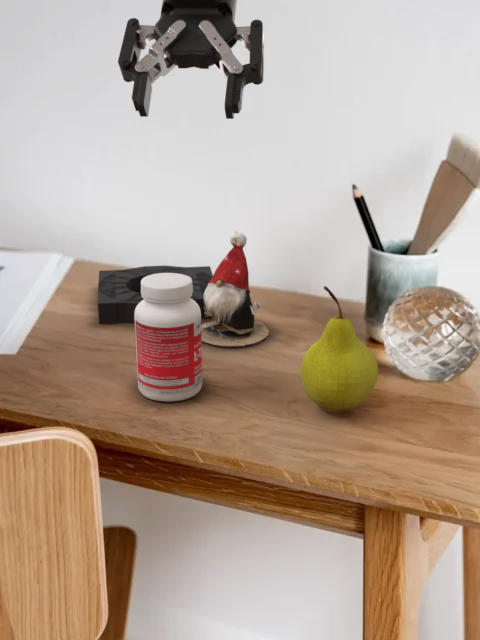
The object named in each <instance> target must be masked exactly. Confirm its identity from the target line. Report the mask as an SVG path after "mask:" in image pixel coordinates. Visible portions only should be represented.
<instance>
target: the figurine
mask: <svg viewBox="0 0 480 640" xmlns="http://www.w3.org/2000/svg"><path fill="white" fill-rule="evenodd" d="M247 239H248V238H247V236H246V235H245V234H244V233H242V232H240V231H237V230H235V231H234V232H232V234H231V235H230V244H231V245H232V246H233V247H232V248H231V249H230V250H229V251H228V253H227V254H226V255H225V257H224V258H223V259H222V260H221V262H220V263H219V264H218V266H217V267H216V269H215V271H214V273H213V277H212V279H211V281H209V282H208V286H207V288H206V290H205V292H204V297H203V299H204V315H205V318H206V317H208V316H211V317H212V318H211V319H209V320H208V322H203V323H201V335H202V342H204V343H207V344H209V345H213V346H219V347H222V348H225V347H226V348H235V347H236V348H242V347H246V346H248V347H249V346H250V345H251V346H254V345H257V344H259V343H260V342H263V340H264V339H267V338H268V337H269V335H270V333H269V329H268V327H267V326H266V325H264V323H263V322H261V321H255V314H256V313H257V312H258V310H259V309H261V308H262V306H261V304H260V302H259V300H258V299H256V300H254V302H252V299H251V295H250V293H251V290H250V282H249V280H250V279H249V268H248V262H247V257H246V254H245V251H244V248H245V246H246V244H247ZM212 319H213V320H212ZM222 326H224V327H226V329H227V330H224V331H223V330H220V329H218V328H216V327H222ZM214 327H215V328H214Z"/></svg>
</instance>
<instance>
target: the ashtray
mask: <svg viewBox="0 0 480 640" xmlns="http://www.w3.org/2000/svg"><path fill="white" fill-rule="evenodd" d="M211 268H212V267H211V266H210V265H207V266H176V265H174V266H173V265H144V266H138V267H133V268H132V267H131V268H126V269H109V270H107V269H106V270H99V271H98V283H97V292H98V293H97V314H98V324H99V325H103V324H105V325H106V324H107V325H108V324H123V323H125V324H126V323H127V324H134V313H135V308H136V306H137V305H138V304H139V303H140V302H141V301H142V300H144V298H143V297H142V294H141V280H142V279H143V278H144V277H146V276H148V275H152V274H157V273H178V274H183V275H186V276H189V277H190V278H191V279H192V285H193V293H192V296H191V297H190V298H191V299H193V300H194V301H195V302H196V303H197V304H198V305H199V307H200V311H201V320H208V319H209V320H212V319H213V318H212V317H211V316H208V317H206V318H205V315H204V299H203V297H204V292H205V290H206V288H207V286H208V282H209V281H211V279H212V277H213V275H214V273H213V271H212V269H211Z"/></svg>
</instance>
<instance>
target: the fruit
mask: <svg viewBox="0 0 480 640" xmlns="http://www.w3.org/2000/svg"><path fill="white" fill-rule="evenodd" d="M323 289H324V290H325V291H326V292H327V293H328V295H329V296H330V298H331V299H332V300H333V301H334V302H335V303H336V304H337V308H338V315H335V316H333V317H331V318H330V319H329V321H328V322H327V323H326V326H325V328H324V331H323V333H322V334H321V337H320V338H319V339H318V340H317V341H316V342H315V343H313V344H312V345H311V346H310V347H309V348H308V349H307V350H306V352H305V354H304V355H303V358H302V360H301V365H300V380H301V383H302V384H301V385H302V387H303V389H304V391H305V393H306V395H307V396H308V398H309V399H310V400H311V401H312V402H313V403H314V404H315V405H316V406H318V407H319V408H321V409H322V410H324V411H325V412H327V413H329V414H345V413H348V412H349V411H352V410H354V409H355V408H358V407H359V406H360V405H362V404H363V403H364V402H365V401H366V400H367V399H368V397H369V396H370V395H371V393H372V392H373V390H374V389H375V386H376V383H377V380H378V375H379V364H378V360H377V358H376V356H375V354H374V352H373V351H372V350H371V349H370V348H369V347H368V346H367V345H365V344H364V343H363V342H362V341H361V340H360V339H359V338H358V336H357V334H356V332H355V328H354V325H353V323H352V321H351V320H350V319H349V318H348V317H346V316H344V315H343V312H342V307H341V306H340V303H339V300H338V298H337V297H336V296H335V294H334V293H333V292H332V291H331V289H330V288H328V287H327V286H326V285H324V287H323Z"/></svg>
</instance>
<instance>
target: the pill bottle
mask: <svg viewBox="0 0 480 640" xmlns="http://www.w3.org/2000/svg"><path fill="white" fill-rule="evenodd" d="M192 293H193V285H192V279H191V278H190V277H189V276H186V275H183V274H178V273H157V274H152V275H148V276H146V277H144V278H143V279H142V280H141V294H142V297H143V298H144V300H142V301H141V302H140V303H139V304H138V305H137V306H136V308H135V313H134V323H133V325H134V337H135V353H136V354H135V355H136V358H135V359H136V373H137V375H136V376H137V387H138V391H139V392H140V394H141V395H143V396H144V397H145V398H147V399H149V400H152V401H157V402H166V403H167V402H179V401H185V400H188V399H191V398H193V397H195V396H196V395H197V394H199V392H200V391H201V390H202V387H203V347H202V346H203V341H202V335H201V325H202V319H201V311H200V307H199V305H198V304H197V303H196V302H195V301H194V300H193V299H191V298H190V297H191V296H192Z"/></svg>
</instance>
